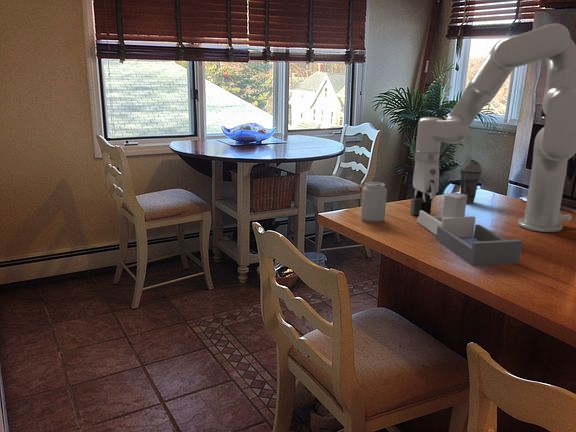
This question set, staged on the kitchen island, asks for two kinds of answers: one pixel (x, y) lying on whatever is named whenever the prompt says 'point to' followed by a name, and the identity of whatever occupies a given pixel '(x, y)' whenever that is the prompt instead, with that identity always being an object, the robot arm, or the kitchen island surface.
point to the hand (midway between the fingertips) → (421, 210)
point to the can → (373, 202)
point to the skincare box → (454, 205)
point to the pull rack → (443, 221)
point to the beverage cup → (470, 178)
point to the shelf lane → (482, 247)
